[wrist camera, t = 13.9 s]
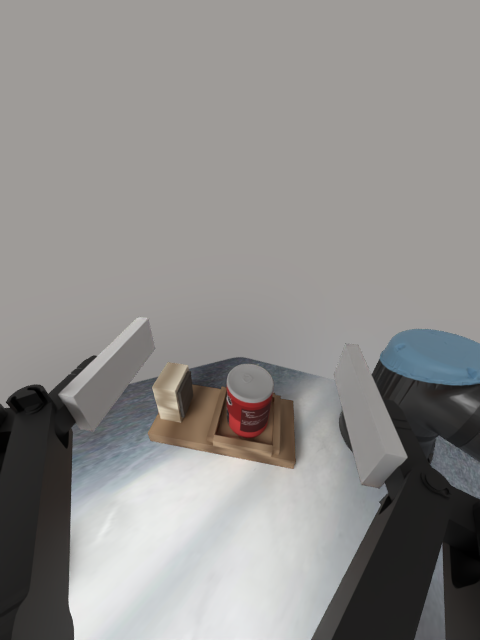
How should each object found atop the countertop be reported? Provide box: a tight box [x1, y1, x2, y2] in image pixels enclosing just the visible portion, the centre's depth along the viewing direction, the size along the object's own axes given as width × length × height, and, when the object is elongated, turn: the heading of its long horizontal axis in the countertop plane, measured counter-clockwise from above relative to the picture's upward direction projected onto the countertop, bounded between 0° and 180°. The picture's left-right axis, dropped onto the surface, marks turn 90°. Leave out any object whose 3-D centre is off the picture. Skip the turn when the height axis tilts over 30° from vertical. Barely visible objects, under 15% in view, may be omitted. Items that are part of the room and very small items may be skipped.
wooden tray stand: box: [148, 362, 296, 469], centre depth 41 cm, size 26×12×12 cm, turn 80°
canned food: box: [227, 364, 274, 438], centre depth 40 cm, size 8×8×11 cm
